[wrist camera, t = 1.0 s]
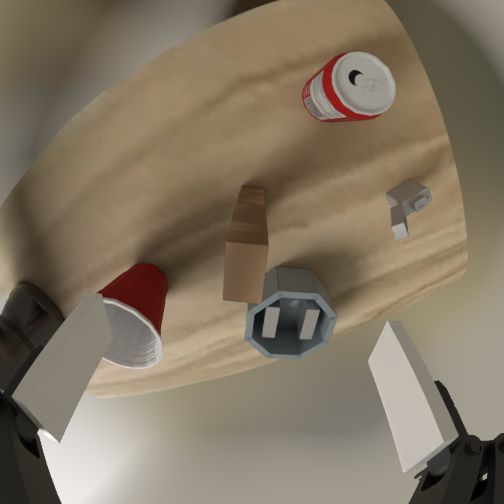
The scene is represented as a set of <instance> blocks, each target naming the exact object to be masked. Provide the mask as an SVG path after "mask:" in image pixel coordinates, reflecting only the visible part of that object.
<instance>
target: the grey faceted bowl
mask: <svg viewBox="0 0 504 504" xmlns="http://www.w3.org/2000/svg"><path fill="white" fill-rule="evenodd" d="M278 299H279V301H280V311H279V317H278V322H277V327H276V333H275V338H269V337H262V311H263V309H264V308H265V307H267V306H268V305H270V304H272V303H273V302H275V301H276V300H278ZM301 299H314V300H315V301H316V302H317V303H318V305H319V309H320V312H319V316H318V319H317V322H316V326H315V329H314V333H313V336H312V339H299V334H298V328H297V322H296V318H297V314H298V309H299V305H300V300H301ZM336 320H337V314H336V311H335V308H334V306H333V303H332V300H331V298H330V295H329V292H328V291H327V289H326V288H325V287H324V286H323V284H322V283H321V282H320V281H319V279H318V278H317V277H316V276H315V274H314V273H313V272H312V271H311V270H310V269H298V268H286V267H275V268H274V269H272V270H271V271H269V272H268V273H267V274H265V278H264V285H263V293H262V300H261V304H258V303H247V314H246V329H245V340H246V341H247V342H249V343H250V344H251V345H252V346H253V347H254V348H256V349H257V350H258V351H259V352H260V353H262V354H263V355H264V356H265V357H267V358H279V359H302V358H303V357H305V356H307V355H309V354H311V353H312V352H314V351H316V350H318V349H320V348H321V347H323V346H325V345H326V344H328V343H329V341H330V338H331V335H332V332H333V329H334V326H335V323H336Z"/></svg>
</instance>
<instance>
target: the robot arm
mask: <svg viewBox="0 0 504 504" xmlns="http://www.w3.org/2000/svg"><path fill="white" fill-rule="evenodd" d="M112 339H113V335H112V332H111V328H110V324H109V321H108V317H107V313H106V309H105V305H104V301H103V297H102V294H99V293H94V292H88V293H87V294H86V296H85V297H84V298H83V299H82V300H81V301H80V303H79V304H78V305H77V306H76V307H75V309H74V310H73V311H72V312H71V314H70V315H69V316H68V317H67V319H66V320H65V321H64V320H63V318H62V316H61V314H60V312H59V311H58V309H57V308H56V306H55V305H54V304H53V303H52V301H51V300H50V299H49V298H48V297H47V296H46V295H45V294H44V293H43V292H42V291H40V290H39V289H38V288H36V287H35V286H33V285H31V284H28V283H21V284H19V285H17V286H16V287H15V288H14V289H13V290H12V291H11V293H10V295H9V298H8V300H7V302H6V304H5V306H4V308H3V310H2V313H1V314H0V504H61V501H60V499H59V497H58V494H57V492H56V489H55V486H54V484H53V481H52V478H51V475H50V472H49V469H48V466H47V463H46V460H45V456H44V453H43V449H42V445H41V442H40V438H39V436H38V434H37V432H38V430H39V429H40V430H41V432H42V433H43V434H45V436H47V437H49V438H51V439H52V440H54V441H57V442H58V443H60V441H61V439H62V437H63V435H64V432H65V430H66V428H67V426H68V423H69V421H70V419H71V417H72V415H73V413H74V411H75V409H76V407H77V405H78V403H79V401H80V398H81V397H82V395H83V393H84V391H85V389H86V387H87V385H88V383H89V381H90V379H91V377H92V375H93V374H94V372H95V370H96V368H97V366H98V364H99V363H100V361H101V359H102V357H103V355H104V354H105V352H106V350H107V348H108V346H109V345H110V343H111V341H112ZM368 363H369V366H370V369H371V371H372V374H373V377H374V380H375V382H376V385H377V388H378V391H379V394H380V397H381V400H382V403H383V406H384V409H385V412H386V415H387V418H388V421H389V424H390V428H391V431H392V434H393V438H394V441H395V444H396V448H397V451H398V455H399V458H400V462H401V466H402V470H403V473H405V472H409V471H411V470H414V469H418V468H419V467H421V466H422V465H424V464H425V463H426V462H427V466H428V467H427V468H425V469H424V470H422V471H421V472H419V473H418V474H417V475H416V476H415V478H414V479H416V478H418V477H420V476H421V475H422V477H421V478H420V479H419V481H420V482H419V484H418V486H417V488H416V490H415V492H414V494H413V496H412V498H411V500H410V502H409V504H504V433H501V434H499V435H498V436H497V437H496V438H495V439H494V440H490V441H481V440H480V439H479V438H478V437H477V436H475V435H468V433H467V431H466V429H465V427H464V425H463V422H462V420H461V418H460V416H459V413H458V411H457V409H456V407H454V403H453V401H452V399H451V397H450V395H449V393H448V391H447V389H446V387H445V386H444V385H442V383H441V382H440V381H439V380H438V381H433V379H432V377H431V375H430V373H429V371H428V369H427V367H426V365H425V364H424V361H423V360H422V358H421V356H420V354H419V352H418V350H417V349H416V347H415V345H414V344H413V341H412V340H411V338H410V336H409V334H408V333H407V331H406V329H405V328H404V326H403V324H402V322H401V321H387V323H386V325H385V327H384V330H383V331H382V334H381V336H380V338H379V340H378V342H377V344H376V346H375V348H374V350H373V352H372V354H371V356H370V358H369V360H368ZM486 473H487V479H485V480H483V479H482V476H483V475H485V474H486Z"/></svg>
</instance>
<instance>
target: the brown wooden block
mask: <svg viewBox="0 0 504 504" xmlns="http://www.w3.org/2000/svg"><path fill="white" fill-rule="evenodd" d="M268 246H269V245H268V233H267V220H266V209H265V197H264V187H254V186H243V185H242V187H241V191H240V194H239V198H238V201H237V204H236V208H235V211H234V215H233V218H232V222H231V225H230V229H229V232H228V236H227V239H226V247H225V267H224V289H223V300H225V301H235V302H246V303H258V304H261V300H262V293H263V285H264V278H265V270H266V262H267V254H268Z"/></svg>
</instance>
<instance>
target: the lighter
mask: <svg viewBox="0 0 504 504" xmlns="http://www.w3.org/2000/svg"><path fill="white" fill-rule="evenodd" d="M386 197H387V200H388V202H389V205H391V206H392V208H391V221H392V229H393V231H394V234H395V237H396V239H397V240H400V239H403V238H407V237H409V233H408V226H407V219H406V216H408V215H410V214H411V213H413V212H415V211H416V212H418V211H420V210H421V209H423V208H424V207H426V206H428V203H429V202H430V201H432V196H431V193H430V190H429V188H428V187H425V186H423V185H421V184H419V183H416V182H414V181H412V180H408V181H406V182H404V183H403V184H401V185H399V186H398V187H396V188H394V189H393V190H391V191H389V192H388V193H386Z"/></svg>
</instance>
